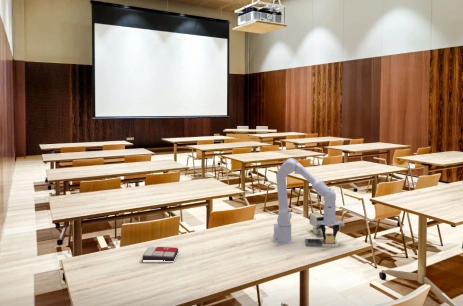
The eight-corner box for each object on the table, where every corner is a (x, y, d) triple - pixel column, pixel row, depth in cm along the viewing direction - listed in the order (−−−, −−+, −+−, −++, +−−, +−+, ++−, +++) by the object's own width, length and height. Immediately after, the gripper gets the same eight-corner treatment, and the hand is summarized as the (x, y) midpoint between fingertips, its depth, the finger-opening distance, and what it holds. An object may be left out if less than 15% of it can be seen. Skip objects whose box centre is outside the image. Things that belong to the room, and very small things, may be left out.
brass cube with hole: (325, 245, 189) (325, 235, 188) (324, 242, 193) (324, 232, 192) (334, 245, 189) (334, 236, 188) (332, 242, 193) (332, 232, 192)
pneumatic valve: (318, 238, 200) (318, 216, 198) (308, 230, 211) (308, 210, 209) (327, 236, 201) (327, 215, 200) (317, 229, 213) (317, 209, 211)
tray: (306, 247, 189) (306, 244, 189) (304, 241, 196) (304, 238, 195) (338, 247, 188) (338, 244, 187) (335, 241, 194) (335, 238, 194)
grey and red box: (173, 256, 174) (142, 254, 175) (173, 264, 175) (142, 263, 175) (178, 246, 185) (148, 245, 186) (178, 255, 185) (148, 253, 186)
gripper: (316, 216, 185) (316, 242, 187) (345, 216, 184) (345, 242, 186) (314, 211, 192) (314, 236, 194) (342, 211, 191) (342, 236, 193)
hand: (329, 239), depth 191 cm, fingers closed on brass cube with hole, 4 cm apart
